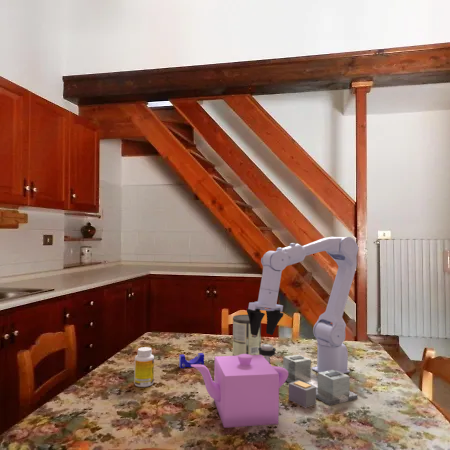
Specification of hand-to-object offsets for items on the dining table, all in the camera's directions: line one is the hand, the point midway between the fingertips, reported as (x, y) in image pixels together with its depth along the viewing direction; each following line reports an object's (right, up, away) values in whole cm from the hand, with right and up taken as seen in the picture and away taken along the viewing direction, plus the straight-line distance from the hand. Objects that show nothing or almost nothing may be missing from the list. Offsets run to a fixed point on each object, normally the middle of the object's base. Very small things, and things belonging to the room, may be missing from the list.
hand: (261, 334), depth 122 cm
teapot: (-8, -14, -22) cm, 27 cm away
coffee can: (-3, -15, +23) cm, 28 cm away
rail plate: (+15, -14, -4) cm, 21 cm away
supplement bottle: (-35, -13, -5) cm, 38 cm away
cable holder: (-23, -14, +13) cm, 29 cm away
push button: (+2, -14, +1) cm, 14 cm away
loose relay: (+9, -14, -15) cm, 23 cm away
